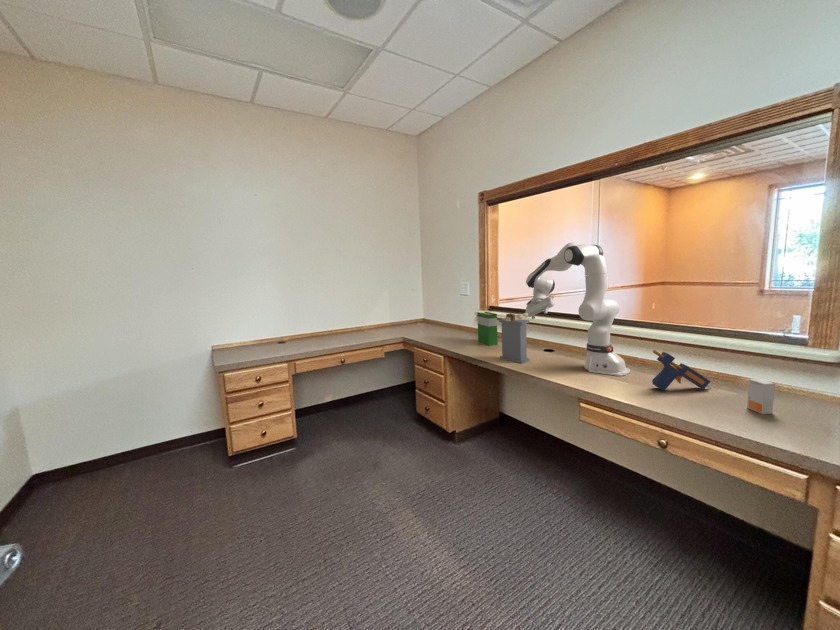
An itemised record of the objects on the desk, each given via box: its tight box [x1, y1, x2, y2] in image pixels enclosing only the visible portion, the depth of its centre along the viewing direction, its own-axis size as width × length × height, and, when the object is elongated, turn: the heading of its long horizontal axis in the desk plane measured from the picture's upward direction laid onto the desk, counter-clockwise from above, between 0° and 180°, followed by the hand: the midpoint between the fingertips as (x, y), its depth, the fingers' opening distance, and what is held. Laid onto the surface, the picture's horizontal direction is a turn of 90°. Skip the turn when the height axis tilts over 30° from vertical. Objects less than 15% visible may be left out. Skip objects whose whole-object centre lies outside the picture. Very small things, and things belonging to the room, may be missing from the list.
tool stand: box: [498, 317, 531, 364], centre depth 219 cm, size 17×8×26 cm, turn 39°
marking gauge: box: [505, 312, 529, 321], centre depth 219 cm, size 20×5×5 cm, turn 129°
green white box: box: [476, 311, 499, 347], centre depth 269 cm, size 18×7×24 cm, turn 18°
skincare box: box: [746, 377, 776, 415], centre depth 131 cm, size 6×4×12 cm
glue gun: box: [651, 349, 712, 392], centre depth 157 cm, size 6×31×15 cm
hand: (539, 315), depth 224 cm, fingers open, 8 cm apart
